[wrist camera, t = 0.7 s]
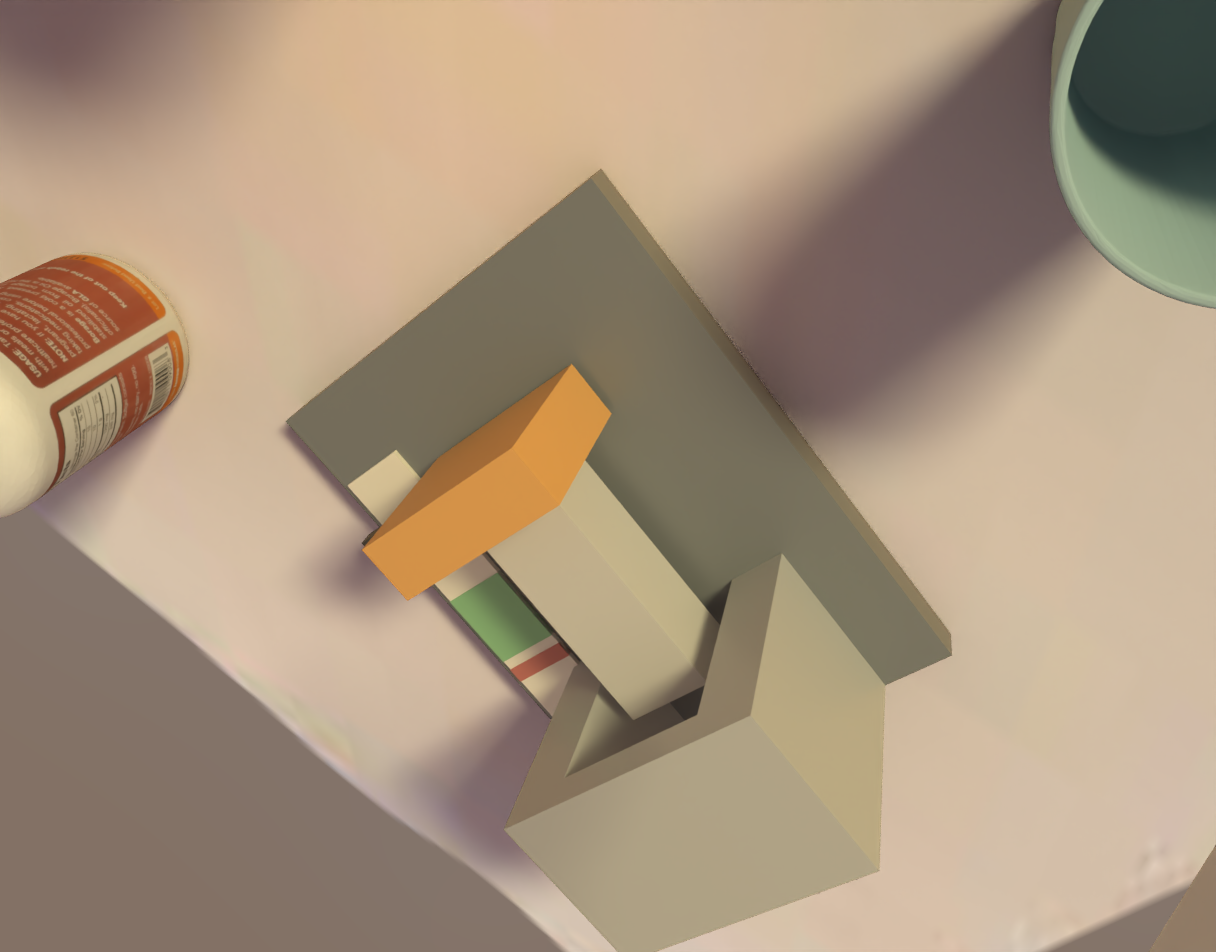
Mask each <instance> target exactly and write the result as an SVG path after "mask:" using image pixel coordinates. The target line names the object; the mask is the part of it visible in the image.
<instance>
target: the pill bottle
mask: <svg viewBox="0 0 1216 952" xmlns="http://www.w3.org/2000/svg"><path fill="white" fill-rule="evenodd" d="M188 365H189V350H188V342H187V337H186V334H185V331H184V328H183V326H182V324H181V321H180V319H179V317H178V315H177V313H176V311H175V310H174V308H173V306H172V305H171V303H170V302H169V301H168V299H167V298H166V297H165V295H164V294H163V293H162V292H161V291H160V290H159V289H158V288H157V287H156V286H155V285H154V284H153V283H152V282H151V281H150V280H149V279H148V278H147V277H145V276H144V275H143V274H141V273H140V272H139V271H137V270H136V269H134V268H133V267H131V266H129V265H128V264H126V263H124V262H122V261H119V260H117V259H114V258H112V257H109V256H105V255H101V254H95V253H76V254H69V255H66V256H62V257H60V258H57V259H54V260H51V261H49V262H47V263H44V264H42V265H40V266H38V267H36V268H33V269H31V270H29V271H27V272H25V273H22V274H20V275H18V276H16V277H14V278H11V279H9V280H7V281H5V282H2V283H0V518H2V517H6V516H9V515H12V514H14V513H16V512H19V511H21V510H22V509H24V508H26V507H27V506H29V505H30V504H32V503H33V502H35V501H36V500H38V499H39V498H40V497H42V496H43V495H45V494H46V493H48V492H49V491H50V490H52V489H53V488H54V487H55V486H57V485H58V484H60V483H61V482H62V481H64V480H65V479H67V478H68V477H69V476H71V475H72V474H74V473H75V472H76V471H78V470H79V469H81V468H82V467H83V466H85V465H86V464H87V463H89V462H90V461H92V460H93V459H95V458H96V457H97V456H99V455H100V454H102V453H103V452H104V451H106V450H107V449H109V448H110V447H111V446H113V445H114V444H116V443H117V442H118V441H120V440H121V439H123V438H124V437H125V436H127V435H128V434H130V433H131V432H132V431H134V430H135V429H137V428H138V427H140V426H141V425H142V424H144V423H145V422H147V421H148V420H149V419H151V418H152V417H154V416H155V415H156V414H158V413H159V412H160V411H162V410H163V409H164V408H165V407H167V406H168V405H169V404H170V403H171V402H172V401H173V400H174V399H175V398H176V396H177V395H178V393H179V392H180V390H181V388H182V387H183V385H184V382H185V379H186V376H187V372H188Z"/></svg>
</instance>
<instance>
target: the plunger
mask: <svg viewBox="0 0 1216 952" xmlns="http://www.w3.org/2000/svg"><path fill="white" fill-rule="evenodd" d="M611 414H612V413H611V412H610V411H609V410H608V408H607V407H606V406H605V405H604V403H603V402H602V401H601V400H600V398H599V397H598V396H597V395H596V393H595V392H594V391H593V390H592V388H591V387H590V386H589V385H588V383H587V382H586V381H585V380H584V378H583V377H582V376H581V375H580V373H579V372H578V371H577V370H576V368H575V367H574V366H573V365H572V364H571V365H569V366H568V367H566V368H565V369H563V370H562V371H561V372H559V373H558V374H556V375H555V376H553V377H552V378H551V379H549V380H548V381H546V382H545V383H544V384H542V385H541V386H539V387H538V388H536V389H535V390H534V391H532V392H531V393H529V394H528V395H526V396H525V397H524V398H522V399H521V400H519V401H518V402H517V403H515V404H514V405H512V406H511V407H509V408H508V409H507V410H505V411H504V412H502V413H501V414H499V415H498V416H497V417H495V418H494V419H492V420H491V421H489V422H488V423H487V424H485V425H484V426H482V427H481V428H480V429H478V430H477V431H475V432H474V433H472V434H471V435H470V436H468V437H467V438H465V439H464V440H462V441H461V442H460V443H458V444H457V445H455V446H454V447H452V448H451V449H450V450H448V451H447V452H445V453H444V454H443V455H441V456H440V457H438V458H437V460H436V461H435V462H434V463H433V464H432V466H431V467H430V468H429V469H428V470H427V472H426V473H425V474H424V475H423V477H422V478H421V479H420V480H419V481H418V483H417V484H416V485H415V486H414V487H413V489H412V490H411V491H410V492H409V493H408V495H407V496H406V497H405V498H404V499H403V501H402V502H401V503H400V504H399V505H398V507H397V508H396V509H395V510H394V512H393V513H392V514H391V515H390V516H389V518H388V519H387V520H386V521H385V522H384V524H383V525H382V526H381V527H379V528H378V529H376V530H375V531H373V532H372V533H371V534H369V535H368V536H367V538H366V539H365V540H364V541H363V542H362V544H363V545H364V546H365V547H364V548H363V549H362V551H363V552H364V553H365V554H366V555H367V556H368V557H369V558H370V560H371V561H372V562H373V563H374V564H375V565H376V566H377V567H378V568H379V570H380V571H381V572H382V573H383V574H384V575H385V576H386V577H387V578H388V580H389V581H390V582H391V583H392V584H393V585H394V586H395V587H396V588H397V590H398V591H399V592H400V593H401V594H402V595H403V596H404V597H405V598H406V600H407V601H408V600H410V599H411V598H413V597H414V596H416V595H418V594H419V593H421V592H422V591H424V590H426V589H427V588H429V587H430V586H432V585H434V584H435V583H437V582H438V581H440V580H441V579H443V578H445V577H446V576H448V575H449V574H451V573H453V572H454V571H456V570H457V569H459V568H461V567H462V566H464V565H465V564H467V563H469V562H470V561H472V560H473V559H475V558H476V557H478V556H480V555H481V554H483V553H484V552H486V551H488V553H489V554H490V555H491V556H492V557H493V558H494V560H495V561H496V562H497V563H498V564H499V565H500V566H501V568H502V569H503V570H504V571H505V572H506V573H507V575H508V576H509V577H510V578H511V579H512V580H513V581H514V583H515V584H516V585H517V586H518V587H519V588H520V590H521V591H522V592H523V593H524V594H525V595H526V596H527V598H528V599H529V600H530V601H531V602H532V603H533V605H534V606H535V607H536V608H537V609H538V610H539V612H540V613H541V614H542V615H543V616H544V617H545V618H546V620H547V621H548V622H549V623H550V624H551V625H552V627H553V628H554V629H555V630H556V631H557V632H558V633H559V635H560V636H561V637H562V638H563V639H564V640H565V642H566V643H567V644H568V645H569V646H570V647H571V649H572V650H573V651H574V652H575V653H576V654H577V655H578V657H579V658H580V659H581V660H582V661H583V662H584V664H585V665H586V666H587V667H588V668H589V669H590V670H591V672H592V673H593V674H594V675H595V676H596V677H597V679H598V680H599V681H600V682H601V683H602V684H603V686H604V687H605V688H606V689H607V690H608V691H609V692H610V694H611V695H612V696H613V697H614V698H615V699H616V701H617V702H618V703H619V704H620V705H621V706H622V707H623V709H624V710H625V711H626V712H627V713H628V714H629V716H630V717H631V718H632V719H633V720H635V719H637V718H639V717H641V716H643V715H645V714H647V713H649V712H651V711H653V710H655V709H657V708H659V707H661V706H663V705H665V704H667V703H669V702H671V701H673V700H675V699H677V698H680V697H682V696H684V695H686V694H688V693H690V692H692V691H694V690H696V689H698V688H700V687H702V686H704V685H705V683H706V679H707V675H708V671H709V667H710V663H711V659H712V655H713V651H714V648H715V644H716V640H717V636H718V632H719V628H720V625H719V623H718V622H717V621H716V620H715V619H714V617H713V616H712V615H711V614H710V612H709V611H708V610H707V609H706V608H705V606H704V605H703V604H702V603H701V601H700V600H699V599H698V598H697V597H696V595H695V594H694V593H693V592H692V590H691V589H690V588H689V587H688V586H687V584H686V583H685V582H684V581H683V579H682V578H681V577H680V576H679V575H678V573H677V572H676V571H675V570H674V568H673V567H672V566H671V565H670V563H669V562H668V561H667V560H666V559H665V557H664V556H663V555H662V554H661V552H660V551H659V550H658V549H657V548H656V546H655V545H654V544H653V543H652V541H651V540H650V539H649V538H648V537H647V535H646V534H645V533H644V532H643V530H642V529H641V528H640V527H639V526H638V524H637V523H636V522H635V521H634V519H633V518H632V517H631V516H630V514H629V513H628V512H627V511H626V510H625V508H624V507H623V506H622V505H621V503H620V502H619V501H618V500H617V499H616V497H615V496H614V495H613V494H612V492H611V491H610V490H609V489H608V488H607V486H606V485H605V484H604V483H603V481H602V480H601V479H600V478H599V477H598V475H597V474H596V473H595V472H594V470H593V469H592V468H591V467H590V466H589V464H588V463H587V462H586V461H585V459H586V458H587V456H588V454H589V452H590V451H591V449H592V447H593V445H594V444H595V442H596V440H597V438H598V437H599V435H600V433H601V431H602V430H603V428H604V426H605V424H606V422H607V421H608V419H609V417H610V415H611Z"/></svg>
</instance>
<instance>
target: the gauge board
mask: <svg viewBox="0 0 1216 952" xmlns="http://www.w3.org/2000/svg"><path fill="white" fill-rule="evenodd" d="M571 364H572V365H573V366H574V367H575V368H576V370H577V371H578V372H579V373H580V375H581V376H582V377H583V378H584V380H585V381H586V382H587V383H588V385H589V386H590V387H591V388H592V390H593V391H594V392H595V393H596V395H597V396H598V397H599V398H600V400H601V401H602V402H603V403H604V405H605V406H606V407H607V408H608V410H609V411H610V412H611V413H612V414H611V415H610V417H609V419H608V421H607V422H606V424H605V426H604V428H603V430H602V431H601V433H600V435H599V437H598V438H597V440H596V442H595V444H594V445H593V447H592V449H591V451H590V452H589V454H588V456H587V458H586V459H585V461H586V462H587V463H588V464H589V466H590V467H591V468H592V469H593V470H594V472H595V473H596V474H597V475H598V477H599V478H600V479H601V480H602V481H603V483H604V484H605V485H606V486H607V488H608V489H609V490H610V491H611V492H612V494H613V495H614V496H615V497H616V499H617V500H618V501H619V502H620V503H621V505H622V506H623V507H624V508H625V510H626V511H627V512H628V513H629V514H630V516H631V517H632V518H633V519H634V521H635V522H636V523H637V524H638V526H639V527H640V528H641V529H642V530H643V532H644V533H645V534H646V535H647V537H648V538H649V539H650V540H651V541H652V543H653V544H654V545H655V546H656V548H657V549H658V550H659V551H660V552H661V554H662V555H663V556H664V557H665V559H666V560H667V561H668V562H669V563H670V565H671V566H672V567H673V568H674V570H675V571H676V572H677V573H678V575H679V576H680V577H681V578H682V579H683V581H684V582H685V583H686V584H687V586H688V587H689V588H690V589H691V590H692V592H693V593H694V594H695V595H696V597H697V598H698V599H699V600H700V601H701V603H702V604H703V605H704V606H705V608H706V609H707V610H708V611H709V612H710V614H711V615H712V616H713V617H714V619H715V620H716V621H717V622H718V623H719V625H720V628H719V632H718V636H717V640H716V644H715V648H714V651H713V655H712V659H711V663H710V667H709V671H708V675H707V679H706V683H705V685H704V686H702V687H700V688H698V689H696V690H694V691H692V692H690V693H688V694H686V695H684V696H682V697H680V698H677V699H675V700H673V701H671V702H669V703H667V704H665V705H663V706H661V707H659V708H657V709H655V710H653V711H651V712H649V713H647V714H645V715H643V716H641V717H639V718H637V719H635V720H633V719H632V718H631V717H630V716H629V714H628V713H627V712H626V711H625V710H624V709H623V707H622V706H621V705H620V704H619V703H618V702H617V701H616V699H615V698H614V697H613V696H612V695H611V694H610V692H609V691H608V690H607V689H606V688H605V687H604V686H603V684H602V683H601V682H600V681H599V680H598V679H597V677H596V676H595V675H594V674H593V673H592V672H591V670H590V669H589V668H588V667H587V666H586V665H585V664H584V662H583V661H582V660H581V659H580V658H579V657H578V655H577V654H576V653H575V652H574V651H573V650H572V649H571V647H570V646H569V645H568V644H567V643H566V642H565V640H564V639H563V638H562V637H561V636H560V635H559V633H558V632H557V631H556V630H555V629H554V628H553V627H552V625H551V624H550V623H549V622H548V621H547V620H546V618H545V617H544V616H543V615H542V614H541V613H540V612H539V610H538V609H537V608H536V607H535V606H534V605H533V603H532V602H531V601H530V600H529V599H528V598H527V596H526V595H525V594H524V593H523V592H522V591H521V590H520V588H519V587H518V586H517V585H516V584H515V583H514V581H513V580H512V579H511V578H510V577H509V576H508V575H507V573H506V572H505V571H504V570H503V569H502V568H501V566H500V565H499V564H498V563H497V562H496V561H495V560H494V558H493V557H492V556H491V555H490V554H489V553H488V551H486V552H484V553H483V554H481V555H480V556H478V557H476V558H475V559H473V560H472V561H470V562H469V563H467V564H465V565H464V566H462V567H461V568H459V569H457V570H456V571H454V572H453V573H451V574H449V575H448V576H446V577H445V578H443V579H441V580H440V581H438V582H437V583H435V584H434V585H432V586H433V588H434V589H435V590H436V591H437V592H438V593H439V594H440V595H441V597H442V598H443V599H444V600H445V601H446V602H447V603H448V604H449V605H450V607H451V608H452V609H453V610H454V611H455V612H456V613H457V614H458V616H459V617H460V618H461V619H462V620H463V621H464V622H465V623H466V625H467V626H468V627H469V628H470V629H471V630H472V631H473V632H474V634H475V635H476V636H477V637H478V638H479V639H480V640H481V641H482V643H483V644H484V645H485V646H486V647H487V648H488V649H489V650H490V652H491V653H492V654H493V655H494V656H495V657H496V658H497V659H498V661H499V662H500V663H501V664H502V665H503V666H504V667H505V668H506V670H507V671H508V672H509V673H510V674H511V675H512V676H513V677H514V679H515V680H516V681H517V682H518V683H519V684H520V685H521V686H522V688H523V689H524V690H525V691H526V692H527V693H528V694H529V695H530V697H531V698H532V699H533V700H534V701H535V702H536V703H537V704H538V706H539V707H540V708H541V709H542V710H543V711H544V712H545V713H546V715H547V716H548V717H549V718H550V719H551V721H550V723H549V726H548V728H547V730H546V733H545V735H544V737H543V740H542V742H541V744H540V747H539V749H538V751H537V754H536V756H535V758H534V761H533V763H532V765H531V767H530V770H529V772H528V774H527V777H526V779H525V781H524V784H523V786H522V788H521V791H520V793H519V795H518V798H517V800H516V802H515V805H514V807H513V809H512V812H511V814H510V816H509V818H508V821H507V823H506V825H505V828H504V831H505V832H506V833H507V834H508V835H509V836H510V837H511V838H512V839H513V840H514V841H515V842H516V843H517V845H518V846H519V847H520V848H521V849H522V850H523V851H524V852H525V853H526V854H527V855H528V856H529V857H530V858H531V859H532V861H533V862H534V863H535V864H536V865H537V866H538V867H539V868H540V869H541V870H542V871H543V872H544V873H545V874H546V876H547V877H548V878H549V879H550V880H551V881H552V882H553V883H554V884H555V885H556V886H557V887H558V888H559V889H560V891H561V892H562V893H563V894H564V895H565V896H566V897H567V898H568V899H569V900H570V901H571V902H572V903H573V904H574V906H575V907H576V908H577V909H578V910H579V911H580V912H581V913H582V914H583V915H584V916H585V917H586V918H587V919H588V921H589V922H590V923H591V924H592V925H593V926H594V927H595V928H596V929H597V930H598V931H599V932H600V933H601V934H602V936H603V937H604V938H605V939H606V940H607V941H608V942H609V943H610V944H611V945H612V946H613V947H614V948H615V949H616V951H617V952H656V951H659V950H662V949H665V948H667V947H670V946H673V945H676V944H678V943H681V942H684V941H687V940H690V939H692V938H695V937H698V936H701V935H703V934H706V933H709V932H712V931H714V930H717V929H720V928H723V927H726V926H728V925H731V924H734V923H737V922H739V921H742V920H745V919H748V918H751V917H753V916H756V915H759V914H762V913H764V912H767V911H770V910H773V909H775V908H778V907H781V906H784V905H787V904H789V903H792V902H795V901H798V900H800V899H803V898H806V897H809V896H811V895H814V894H817V893H820V892H823V891H825V890H828V889H831V888H834V887H836V886H839V885H842V884H845V883H847V882H850V881H853V880H856V879H859V878H861V877H864V876H867V875H870V874H872V873H875V872H878V871H879V868H880V836H881V804H882V772H883V741H884V709H885V685H887V684H889V683H891V682H894V681H896V680H898V679H900V678H902V677H905V676H907V675H909V674H911V673H914V672H916V671H918V670H920V669H923V668H925V667H927V666H929V665H932V664H934V663H936V662H938V661H940V660H943V659H945V658H947V657H949V656H952V647H951V634H950V632H949V631H948V630H947V628H946V627H945V626H944V624H943V623H942V622H941V620H940V619H939V618H938V616H937V615H936V614H935V612H934V611H933V610H932V608H931V607H930V606H929V604H928V603H927V602H926V600H925V599H924V598H923V596H922V595H921V594H920V592H919V591H918V590H917V588H916V587H915V586H914V584H913V583H912V582H911V580H910V579H909V578H908V577H907V575H906V574H905V573H904V571H903V570H902V569H901V567H900V566H899V565H898V563H897V562H896V561H895V559H894V558H893V557H892V555H891V554H890V553H889V551H888V550H887V549H886V547H885V546H884V545H883V543H882V542H881V541H880V539H879V538H878V537H877V535H876V534H875V533H874V531H873V530H872V529H871V527H870V526H869V525H868V523H867V522H866V521H865V519H864V518H863V517H862V515H861V514H860V513H859V511H858V510H857V509H856V507H855V506H854V505H853V503H852V502H851V501H850V499H849V498H848V497H847V495H846V494H845V493H844V491H843V490H842V489H841V487H840V486H839V485H838V483H837V482H836V481H835V479H834V478H833V477H832V475H831V474H830V473H829V471H828V470H827V469H826V467H825V466H824V465H823V463H822V462H821V461H820V459H819V458H818V457H817V455H816V454H815V453H814V451H813V450H812V449H811V447H810V446H809V445H808V444H807V442H806V441H805V440H804V438H803V437H802V436H801V434H800V433H799V432H798V430H797V429H796V428H795V426H794V425H793V424H792V422H791V421H790V420H789V418H788V417H787V416H786V414H785V413H784V412H783V410H782V409H781V408H780V406H779V405H778V404H777V402H776V401H775V400H774V398H773V397H772V396H771V394H770V393H769V392H768V390H767V389H766V388H765V386H764V385H763V384H762V382H761V381H760V380H759V378H758V377H757V376H756V374H755V373H754V372H753V370H752V369H751V368H750V366H749V365H748V364H747V362H746V361H745V360H744V358H743V357H742V356H741V354H740V353H739V352H738V350H737V349H736V348H735V346H734V345H733V344H732V342H731V341H730V340H729V338H728V337H727V336H726V334H725V333H724V332H723V330H722V329H721V328H720V326H719V325H718V324H717V322H716V321H715V320H714V318H713V317H712V316H711V314H710V313H709V312H708V310H707V309H706V308H705V307H704V305H703V304H702V303H701V301H700V300H699V299H698V297H697V296H696V295H695V293H694V292H693V291H692V289H691V288H690V287H689V285H688V284H687V283H686V281H685V280H684V279H683V277H682V276H681V275H680V273H679V272H678V271H677V269H676V268H675V267H674V265H673V264H672V263H671V261H670V260H669V259H668V257H667V256H666V255H665V253H664V252H663V251H662V249H661V248H660V247H659V245H658V244H657V243H656V241H655V240H654V239H653V237H652V236H651V235H650V233H649V232H648V231H647V229H646V228H645V227H644V225H643V224H642V223H641V221H640V220H639V219H638V217H637V216H636V215H635V213H634V212H633V211H632V209H631V208H630V207H629V205H628V204H627V203H626V201H625V200H624V199H623V197H622V196H621V195H620V193H619V192H618V191H617V189H616V188H615V187H614V185H613V184H612V183H611V181H610V180H609V179H608V177H607V176H606V175H605V174H604V172H603V171H602V170H601V169H600V170H599V171H598V172H596V173H595V174H594V175H593V176H591V177H590V178H589V179H588V180H586V181H585V182H584V183H583V184H581V185H580V186H579V187H578V188H576V189H575V190H574V191H573V192H571V193H570V194H569V195H568V196H566V197H565V198H564V199H563V200H561V201H560V202H559V203H558V204H556V205H555V206H554V207H553V208H551V209H550V210H549V211H548V212H546V213H545V214H544V215H543V216H541V217H540V218H539V219H538V220H536V221H535V222H534V223H533V224H531V225H530V226H529V227H527V228H526V229H525V230H524V231H522V232H521V233H520V234H519V235H517V236H516V237H515V238H514V239H512V240H511V241H510V242H509V243H507V244H506V245H505V246H504V247H502V248H501V249H500V250H499V251H497V252H496V253H495V254H494V255H492V256H491V257H490V258H489V259H487V260H486V261H485V262H484V263H482V264H481V265H480V266H479V267H477V268H476V269H475V270H474V271H472V272H471V273H470V274H469V275H467V276H466V277H465V278H464V279H462V280H461V281H460V282H459V283H457V284H456V285H455V286H454V287H452V288H451V289H450V290H449V291H447V292H446V293H445V294H443V295H442V296H441V297H440V298H438V299H437V300H436V301H435V302H433V303H432V304H431V305H430V306H428V307H427V308H426V309H425V310H423V311H422V312H421V313H420V314H418V315H417V316H416V317H415V318H413V319H412V320H411V321H410V322H408V323H407V324H406V325H405V326H403V327H402V328H401V329H400V330H398V331H397V332H396V333H395V334H393V335H392V336H391V337H390V338H388V339H387V340H386V341H385V342H383V343H382V344H381V345H380V346H378V347H377V348H376V349H375V350H373V351H372V352H371V353H370V354H368V355H367V356H366V357H365V358H363V359H362V360H361V361H359V362H358V363H357V364H356V365H354V366H353V367H352V368H351V369H349V370H348V371H347V372H346V373H344V374H343V375H342V376H341V377H339V378H338V379H337V380H336V381H334V382H333V383H332V384H331V385H329V386H328V387H327V388H326V389H324V390H323V391H322V392H321V393H319V394H318V395H317V396H316V397H314V398H313V399H312V400H311V401H309V402H308V403H307V404H306V405H304V406H303V407H302V408H301V409H300V410H298V411H297V412H296V413H295V414H294V415H292V416H291V417H290V418H289V419H288V420H287V421H286V422H287V423H288V424H289V426H290V427H291V428H292V429H293V430H294V431H295V432H296V433H297V435H298V436H299V437H300V438H301V439H302V440H303V441H304V442H305V444H306V445H307V446H308V447H309V448H310V449H311V450H312V451H313V453H314V454H315V455H316V456H317V457H318V458H319V459H320V460H321V462H322V463H323V464H324V465H325V466H326V467H327V468H328V469H329V471H330V472H331V473H332V474H333V475H334V476H335V477H336V478H337V480H338V481H339V482H340V483H341V484H342V485H343V486H344V487H345V489H346V490H347V491H348V492H349V493H350V494H351V495H352V496H353V498H354V499H355V500H356V501H357V502H358V503H359V504H360V505H361V507H362V508H363V509H364V510H365V511H366V512H367V513H368V514H369V516H370V517H371V518H372V519H373V520H374V521H375V522H376V523H377V525H378V526H379V527H381V526H382V525H383V524H384V522H385V521H386V520H387V519H388V518H389V516H390V515H391V514H392V513H393V512H394V510H395V509H396V508H397V507H398V505H399V504H400V503H401V502H402V501H403V499H404V498H405V497H406V496H407V495H408V493H409V492H410V491H411V490H412V489H413V487H414V486H415V485H416V484H417V483H418V481H419V480H420V479H421V478H422V477H423V475H424V474H425V473H426V472H427V470H428V469H429V468H430V467H431V466H432V464H433V463H434V462H435V461H436V460H437V458H438V457H440V456H441V455H443V454H444V453H445V452H447V451H448V450H450V449H451V448H452V447H454V446H455V445H457V444H458V443H460V442H461V441H462V440H464V439H465V438H467V437H468V436H470V435H471V434H472V433H474V432H475V431H477V430H478V429H480V428H481V427H482V426H484V425H485V424H487V423H488V422H489V421H491V420H492V419H494V418H495V417H497V416H498V415H499V414H501V413H502V412H504V411H505V410H507V409H508V408H509V407H511V406H512V405H514V404H515V403H517V402H518V401H519V400H521V399H522V398H524V397H525V396H526V395H528V394H529V393H531V392H532V391H534V390H535V389H536V388H538V387H539V386H541V385H542V384H544V383H545V382H546V381H548V380H549V379H551V378H552V377H553V376H555V375H556V374H558V373H559V372H561V371H562V370H563V369H565V368H566V367H568V366H569V365H571Z"/></svg>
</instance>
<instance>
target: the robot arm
mask: <svg viewBox="0 0 1216 952" xmlns="http://www.w3.org/2000/svg"><path fill="white" fill-rule="evenodd" d="M1149 952H1216V845H1215V847H1214V849H1213V850H1212V852H1211V853H1210V855H1209V857H1208V858H1207V860H1206V861H1205V863H1204V864H1203V866H1202V868H1201V869H1200V871H1199V872H1198V874H1197V876H1196V877H1195V879H1194V880H1193V882H1192V884H1191V885H1190V887H1189V888H1188V890H1187V892H1186V893H1185V895H1184V896H1183V898H1182V900H1181V901H1180V903H1179V905H1178V906H1177V908H1176V909H1175V911H1174V912H1173V914H1172V916H1171V917H1170V919H1169V920H1168V922H1167V923H1166V925H1165V927H1164V928H1163V930H1162V931H1161V933H1160V935H1159V936H1158V938H1157V940H1156V941H1155V943H1154V944H1153V946H1152V948H1151V949H1150V951H1149Z"/></svg>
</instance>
